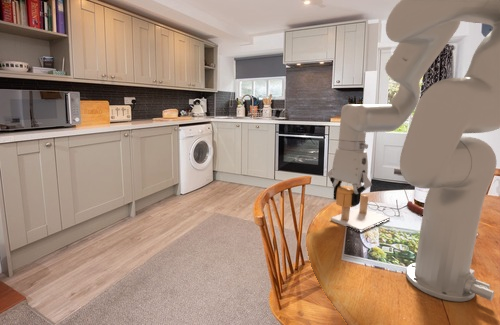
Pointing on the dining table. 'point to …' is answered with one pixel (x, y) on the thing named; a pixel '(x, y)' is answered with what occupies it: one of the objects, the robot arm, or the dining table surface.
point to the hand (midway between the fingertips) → (345, 201)
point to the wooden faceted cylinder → (344, 196)
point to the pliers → (415, 208)
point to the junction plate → (359, 216)
